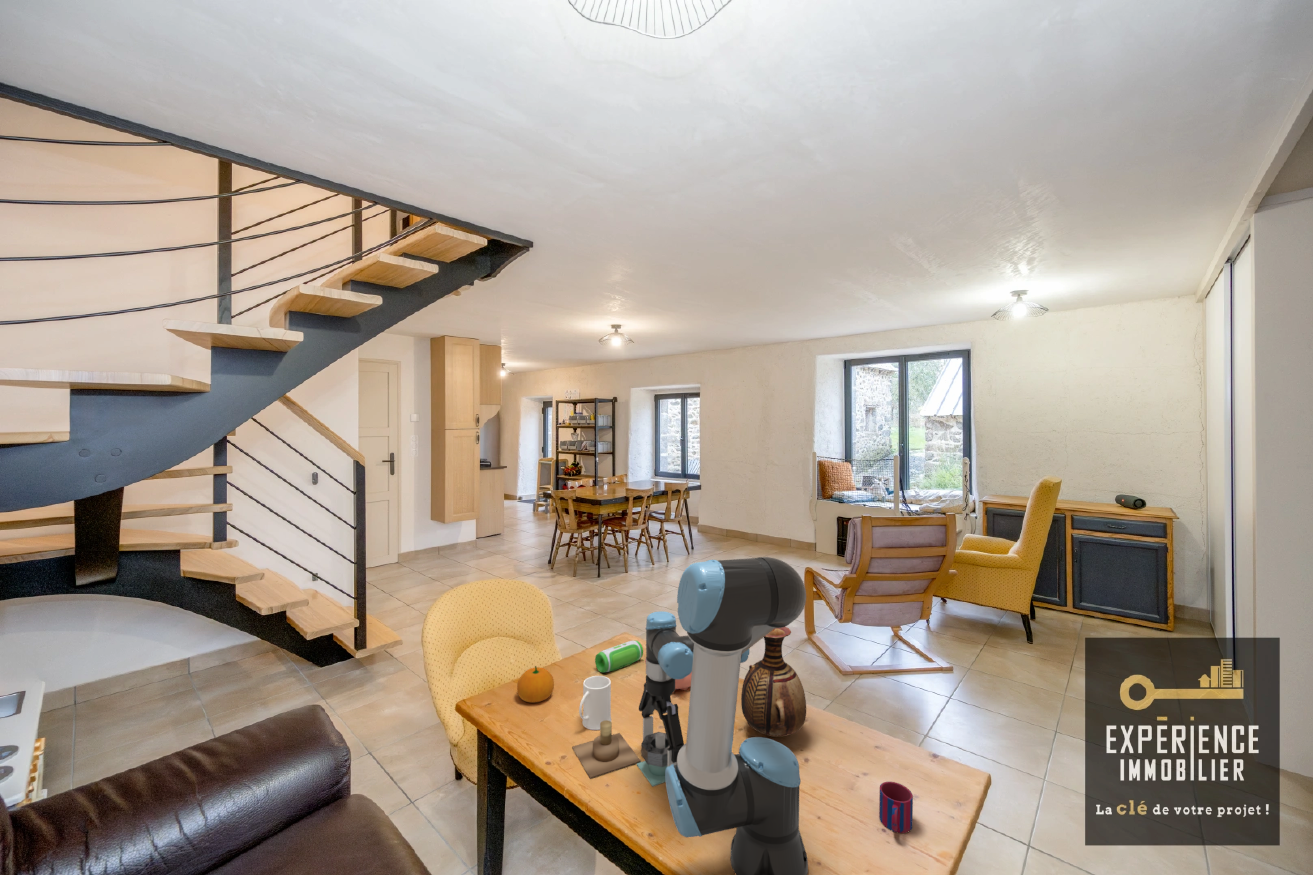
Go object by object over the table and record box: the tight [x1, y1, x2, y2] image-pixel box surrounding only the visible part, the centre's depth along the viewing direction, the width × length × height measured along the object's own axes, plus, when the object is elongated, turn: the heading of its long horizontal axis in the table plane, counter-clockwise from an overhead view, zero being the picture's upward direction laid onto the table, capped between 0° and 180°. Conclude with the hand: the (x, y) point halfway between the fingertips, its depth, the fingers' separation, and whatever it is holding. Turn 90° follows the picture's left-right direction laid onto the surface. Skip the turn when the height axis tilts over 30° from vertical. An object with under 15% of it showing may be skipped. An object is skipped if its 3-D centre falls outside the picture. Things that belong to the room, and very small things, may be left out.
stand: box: [636, 732, 667, 788], centre depth 132 cm, size 9×9×9 cm
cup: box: [878, 781, 914, 834], centre depth 114 cm, size 7×10×7 cm
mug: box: [578, 675, 612, 731], centre depth 152 cm, size 12×8×12 cm
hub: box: [572, 720, 642, 780], centre depth 138 cm, size 14×14×8 cm
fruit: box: [516, 665, 555, 704], centre depth 167 cm, size 12×12×10 cm
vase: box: [740, 626, 807, 737], centre depth 148 cm, size 21×18×30 cm
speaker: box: [594, 640, 644, 673], centre depth 190 cm, size 18×7×8 cm, turn 132°
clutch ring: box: [640, 731, 670, 767], centre depth 132 cm, size 9×9×3 cm
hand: (659, 756), depth 132 cm, fingers open, 13 cm apart
